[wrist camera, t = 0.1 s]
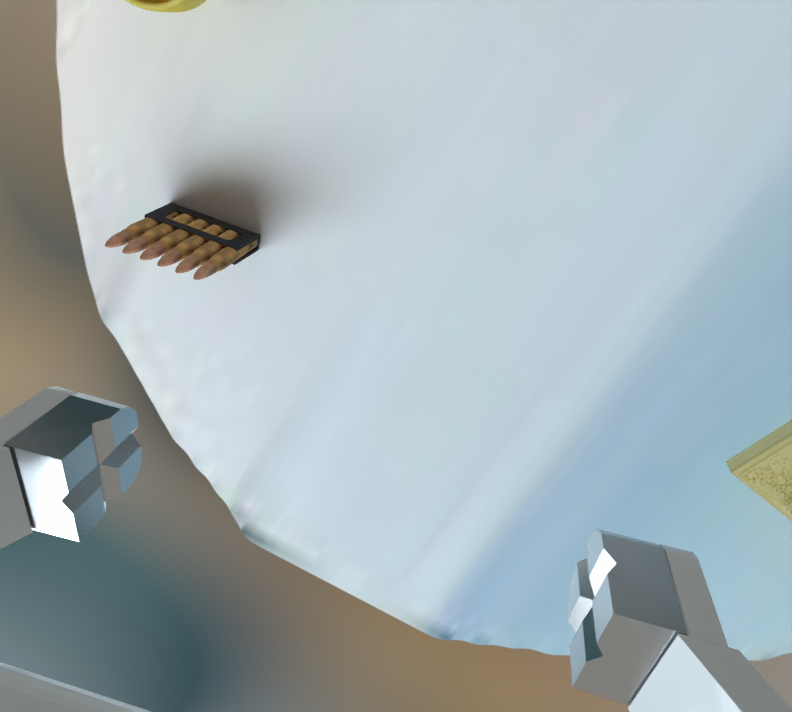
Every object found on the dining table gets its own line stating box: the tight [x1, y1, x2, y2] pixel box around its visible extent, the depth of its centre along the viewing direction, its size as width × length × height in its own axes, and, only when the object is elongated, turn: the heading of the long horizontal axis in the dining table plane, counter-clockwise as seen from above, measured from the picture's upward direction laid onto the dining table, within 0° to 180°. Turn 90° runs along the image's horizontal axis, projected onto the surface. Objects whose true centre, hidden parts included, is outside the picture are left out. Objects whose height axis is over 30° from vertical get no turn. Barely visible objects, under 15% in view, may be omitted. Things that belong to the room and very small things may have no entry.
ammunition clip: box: [105, 203, 260, 280], centre depth 55 cm, size 11×2×12 cm, turn 73°
